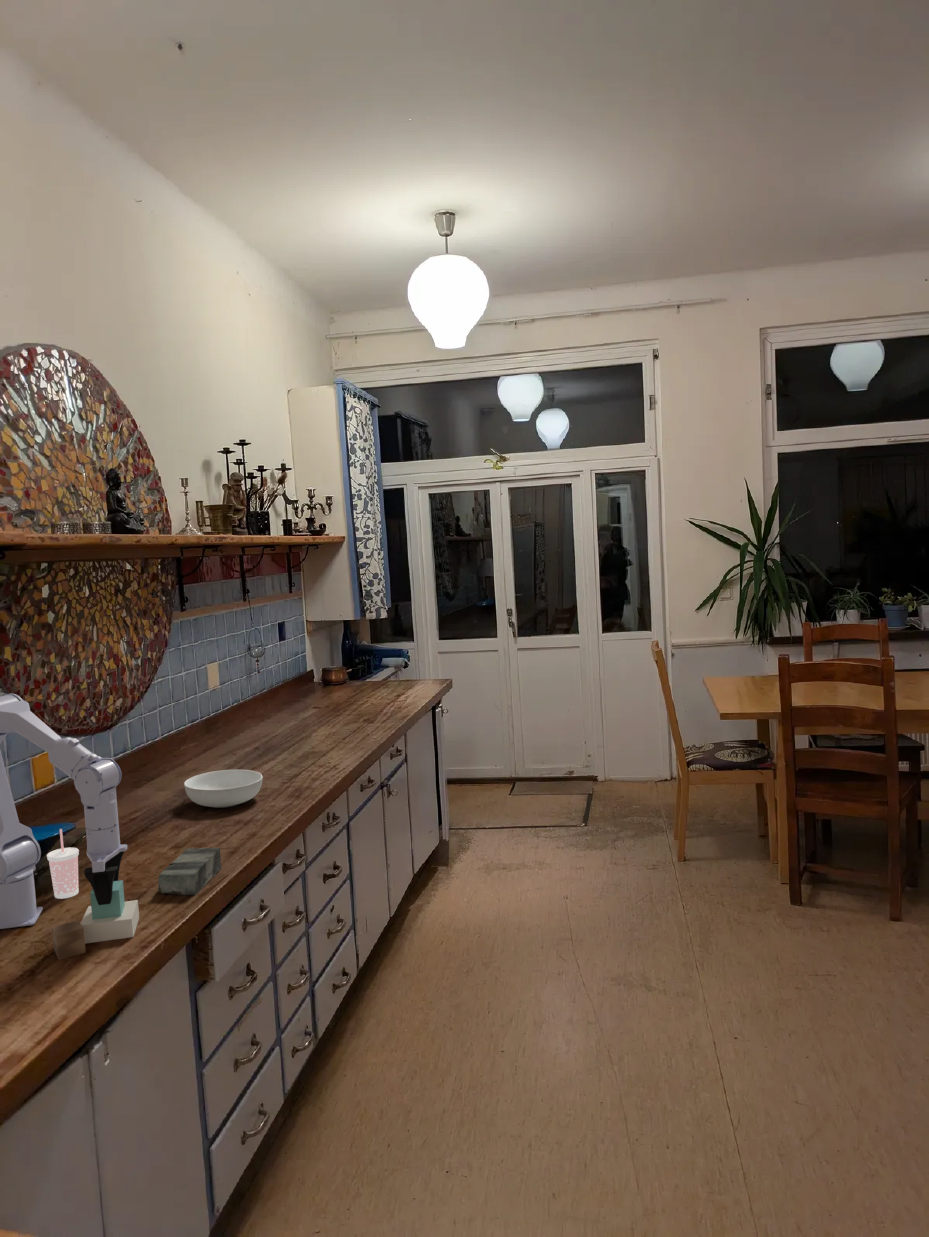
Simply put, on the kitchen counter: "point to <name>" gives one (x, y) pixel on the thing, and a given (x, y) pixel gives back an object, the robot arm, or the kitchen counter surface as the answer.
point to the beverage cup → (64, 870)
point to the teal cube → (114, 907)
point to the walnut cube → (68, 939)
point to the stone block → (190, 871)
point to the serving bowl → (223, 787)
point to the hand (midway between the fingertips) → (108, 895)
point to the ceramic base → (111, 924)
